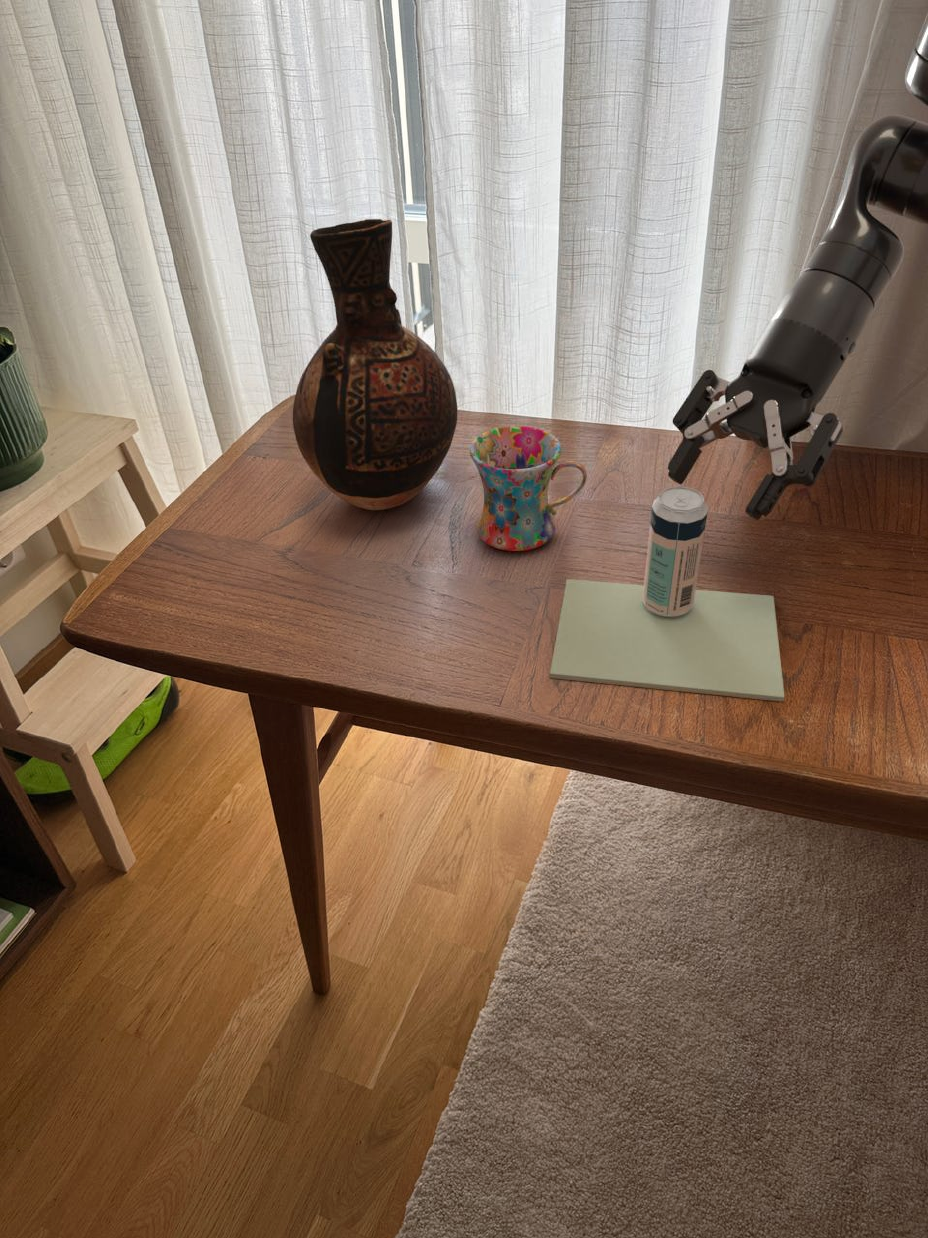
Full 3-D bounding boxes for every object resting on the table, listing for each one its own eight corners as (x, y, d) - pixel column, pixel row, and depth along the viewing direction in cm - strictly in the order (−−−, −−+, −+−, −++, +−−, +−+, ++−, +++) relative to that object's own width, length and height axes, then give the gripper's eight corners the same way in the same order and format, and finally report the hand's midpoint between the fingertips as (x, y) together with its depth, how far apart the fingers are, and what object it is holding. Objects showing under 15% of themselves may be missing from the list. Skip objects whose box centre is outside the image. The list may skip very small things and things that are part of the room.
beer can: (693, 592, 86) (709, 485, 79) (691, 623, 83) (708, 515, 75) (643, 587, 87) (655, 481, 80) (640, 617, 84) (651, 510, 76)
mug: (465, 555, 94) (461, 467, 87) (482, 507, 101) (479, 423, 94) (579, 564, 92) (583, 475, 85) (587, 515, 99) (592, 429, 92)
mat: (772, 600, 86) (773, 595, 85) (783, 702, 75) (784, 697, 75) (566, 583, 89) (566, 578, 89) (549, 678, 79) (549, 673, 79)
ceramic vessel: (412, 554, 94) (383, 267, 75) (274, 523, 100) (214, 249, 81) (487, 460, 109) (479, 199, 90) (363, 438, 115) (330, 189, 96)
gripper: (727, 297, 80) (634, 455, 82) (875, 340, 71) (767, 515, 73) (752, 337, 86) (665, 483, 88) (891, 380, 77) (791, 541, 79)
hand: (711, 497), depth 80 cm, fingers open, 8 cm apart
